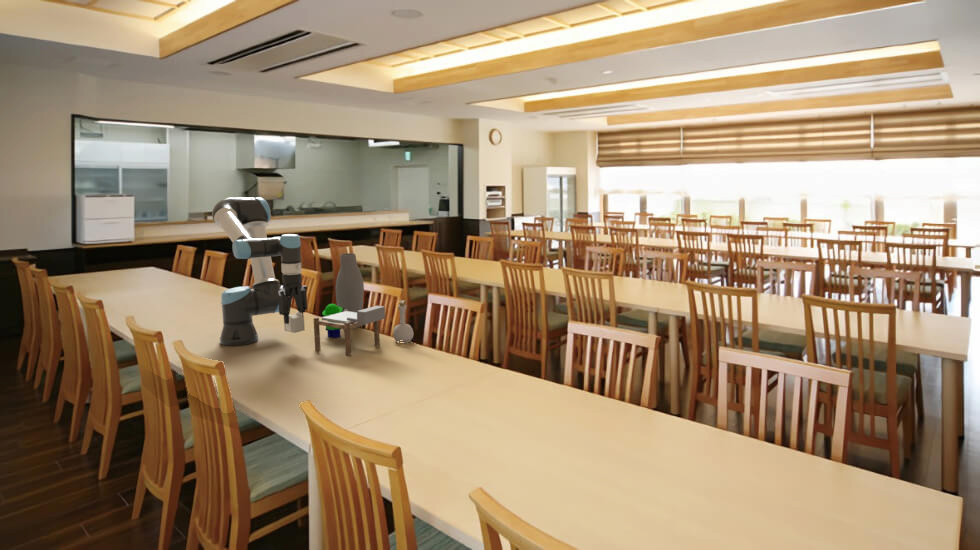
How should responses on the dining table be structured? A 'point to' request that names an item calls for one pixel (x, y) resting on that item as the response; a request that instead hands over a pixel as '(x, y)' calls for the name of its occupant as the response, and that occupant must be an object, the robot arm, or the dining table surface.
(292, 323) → the stone
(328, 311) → the toy
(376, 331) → the frame
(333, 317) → the grey faceted block
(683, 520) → the dining table surface
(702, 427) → the dining table surface
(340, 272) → the vase
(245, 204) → the robot arm
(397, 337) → the potion bottle
